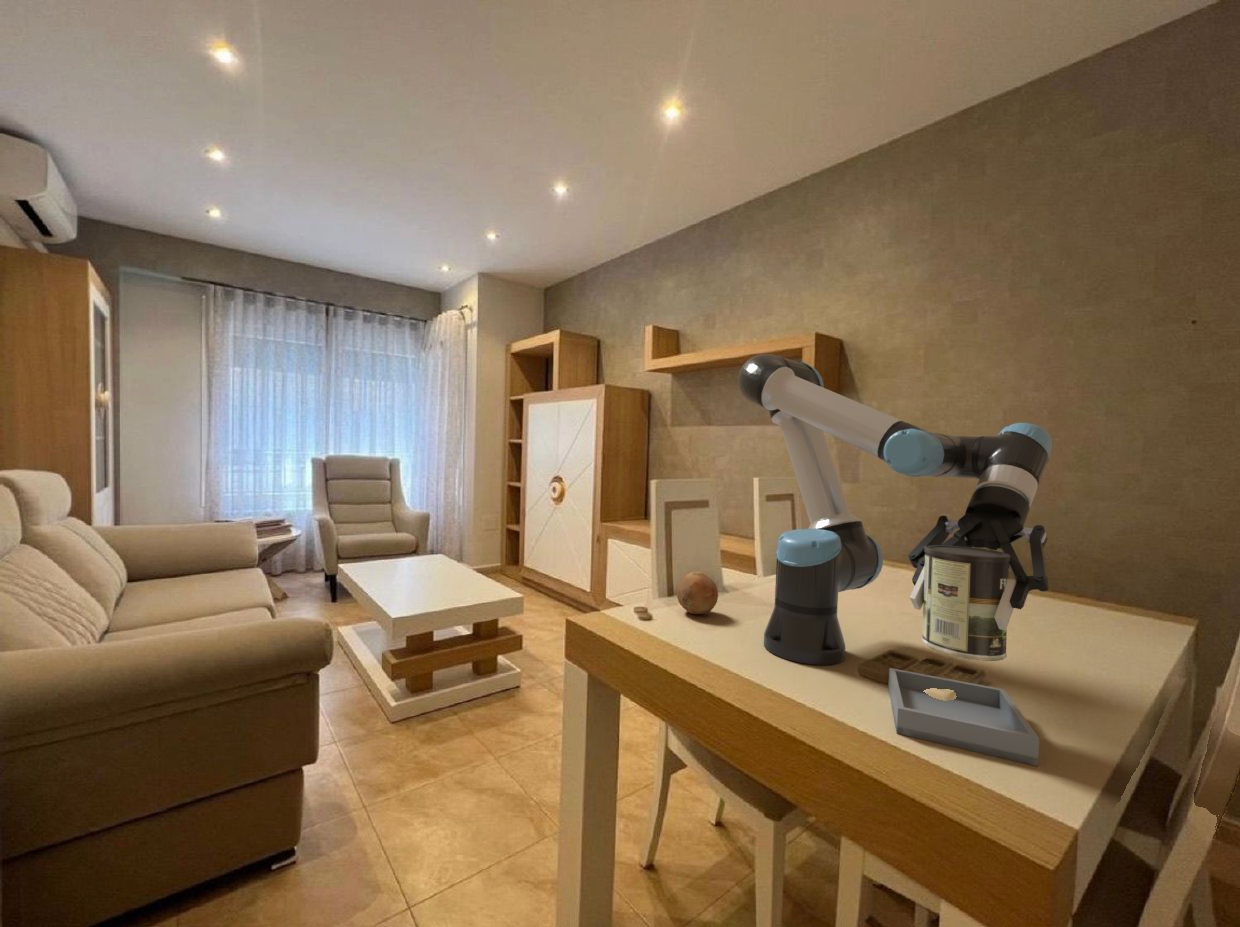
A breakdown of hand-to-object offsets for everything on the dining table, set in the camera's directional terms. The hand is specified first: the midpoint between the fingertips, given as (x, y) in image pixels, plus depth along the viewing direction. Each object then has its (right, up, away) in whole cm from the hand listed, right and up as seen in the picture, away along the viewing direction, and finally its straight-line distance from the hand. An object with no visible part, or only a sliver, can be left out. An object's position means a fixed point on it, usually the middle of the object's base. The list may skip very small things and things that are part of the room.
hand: (954, 613), depth 71 cm
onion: (-29, -15, +50) cm, 60 cm away
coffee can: (+2, -6, +2) cm, 6 cm away
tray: (+1, -17, +2) cm, 17 cm away
